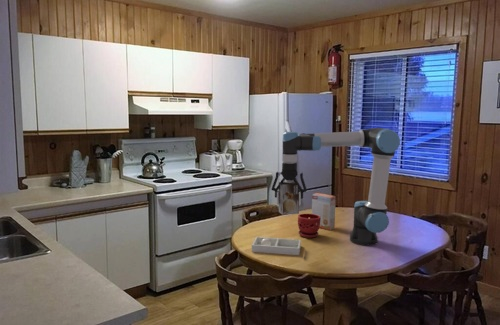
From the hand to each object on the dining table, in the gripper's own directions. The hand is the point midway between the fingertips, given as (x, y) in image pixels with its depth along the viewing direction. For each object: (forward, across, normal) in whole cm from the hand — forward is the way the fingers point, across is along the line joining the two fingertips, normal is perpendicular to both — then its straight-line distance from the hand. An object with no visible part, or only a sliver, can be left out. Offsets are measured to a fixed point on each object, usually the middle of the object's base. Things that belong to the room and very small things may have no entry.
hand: (288, 204), depth 217 cm
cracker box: (+26, -18, -47) cm, 56 cm away
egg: (+24, +12, 0) cm, 27 cm away
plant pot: (+26, -10, -29) cm, 40 cm away
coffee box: (+5, 0, 0) cm, 5 cm away
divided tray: (+25, +6, 0) cm, 26 cm away
